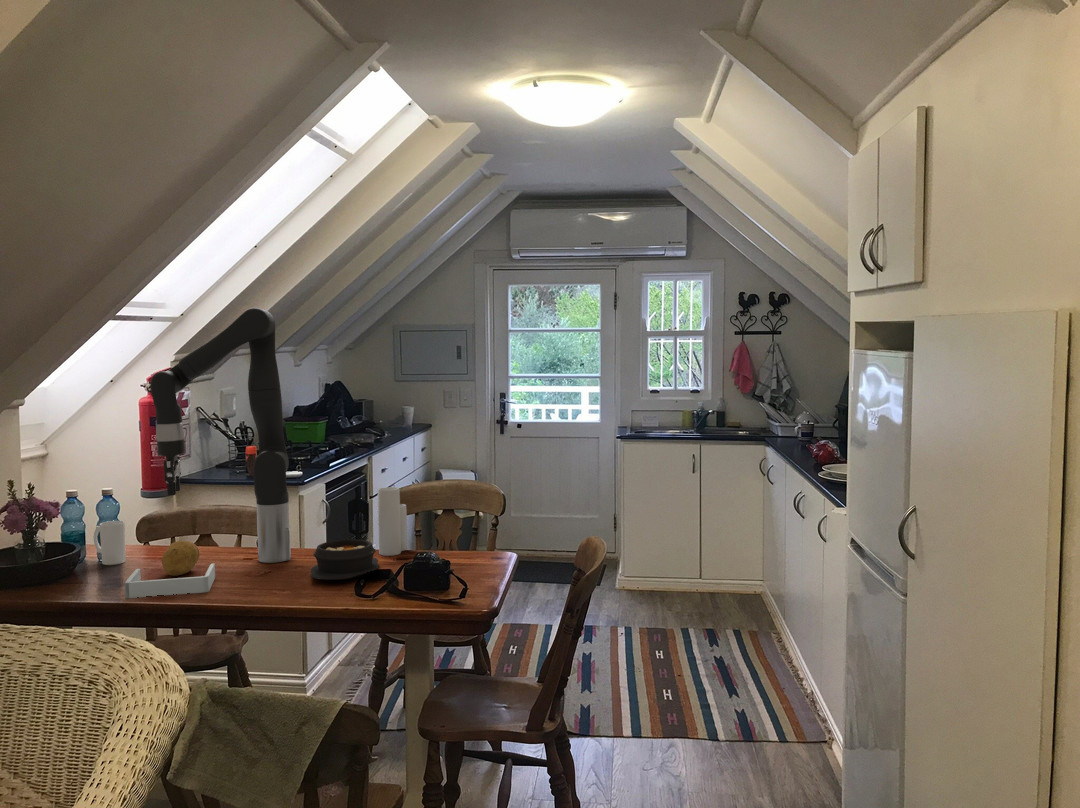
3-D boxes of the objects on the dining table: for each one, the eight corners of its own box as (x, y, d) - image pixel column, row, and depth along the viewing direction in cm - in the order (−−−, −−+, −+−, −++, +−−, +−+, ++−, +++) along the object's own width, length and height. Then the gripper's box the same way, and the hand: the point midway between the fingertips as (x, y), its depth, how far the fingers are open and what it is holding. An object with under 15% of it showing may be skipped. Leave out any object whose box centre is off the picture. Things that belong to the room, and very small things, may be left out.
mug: (131, 560, 261) (129, 521, 261) (115, 565, 255) (113, 525, 254) (103, 558, 264) (101, 520, 263) (86, 564, 257) (84, 524, 257)
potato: (150, 546, 238) (183, 543, 238) (173, 538, 251) (204, 535, 251) (154, 580, 238) (187, 577, 238) (176, 570, 251) (208, 567, 251)
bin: (215, 577, 240) (214, 563, 239) (208, 592, 225) (208, 576, 225) (136, 583, 235) (136, 568, 234) (125, 598, 220) (124, 583, 220)
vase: (396, 556, 262) (395, 490, 261) (374, 555, 264) (372, 490, 262) (409, 547, 273) (408, 484, 272) (387, 547, 275) (386, 484, 273)
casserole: (359, 587, 228) (358, 556, 227) (293, 585, 231) (292, 554, 230) (392, 564, 252) (392, 536, 252) (332, 562, 255) (331, 534, 255)
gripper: (180, 440, 249) (184, 495, 250) (187, 435, 263) (190, 488, 264) (152, 441, 247) (156, 498, 248) (160, 437, 261) (164, 490, 262)
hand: (174, 493), depth 256 cm, fingers open, 8 cm apart
